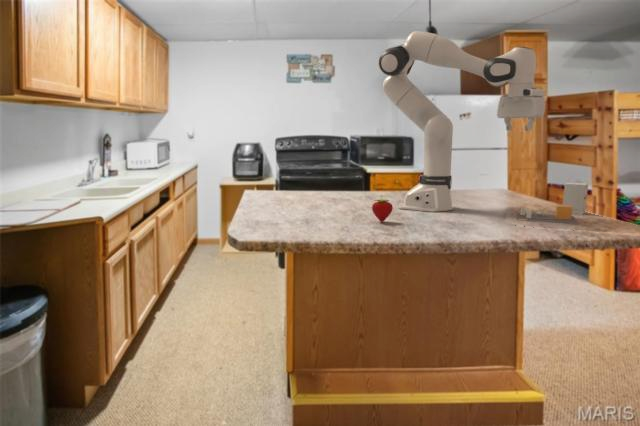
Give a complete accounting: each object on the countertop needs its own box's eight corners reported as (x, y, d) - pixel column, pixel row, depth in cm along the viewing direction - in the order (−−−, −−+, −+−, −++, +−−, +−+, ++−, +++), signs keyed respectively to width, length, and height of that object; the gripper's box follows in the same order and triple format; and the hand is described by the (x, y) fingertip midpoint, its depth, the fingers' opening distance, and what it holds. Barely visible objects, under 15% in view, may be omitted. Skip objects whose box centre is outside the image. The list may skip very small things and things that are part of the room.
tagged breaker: (526, 218, 181) (527, 209, 180) (526, 217, 182) (527, 208, 182) (531, 218, 180) (531, 209, 180) (530, 217, 182) (531, 208, 181)
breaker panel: (516, 222, 178) (517, 217, 178) (516, 215, 193) (517, 210, 193) (578, 227, 171) (579, 221, 171) (573, 219, 186) (573, 213, 185)
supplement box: (582, 217, 189) (585, 184, 186) (561, 215, 193) (564, 183, 191) (585, 214, 194) (588, 183, 192) (565, 212, 199) (568, 181, 197)
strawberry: (393, 223, 176) (393, 196, 174) (371, 223, 176) (372, 195, 174) (391, 220, 182) (392, 193, 180) (371, 220, 182) (371, 193, 180)
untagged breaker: (520, 215, 187) (521, 206, 186) (520, 214, 188) (520, 205, 188) (524, 215, 186) (525, 206, 186) (524, 214, 188) (525, 205, 187)
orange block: (556, 218, 181) (557, 206, 180) (555, 216, 186) (556, 204, 185) (571, 219, 179) (572, 207, 178) (569, 217, 184) (570, 205, 183)
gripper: (494, 94, 190) (492, 130, 193) (536, 90, 172) (533, 130, 174) (506, 94, 193) (504, 130, 195) (549, 91, 174) (546, 130, 177)
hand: (518, 130), depth 184 cm, fingers open, 8 cm apart
